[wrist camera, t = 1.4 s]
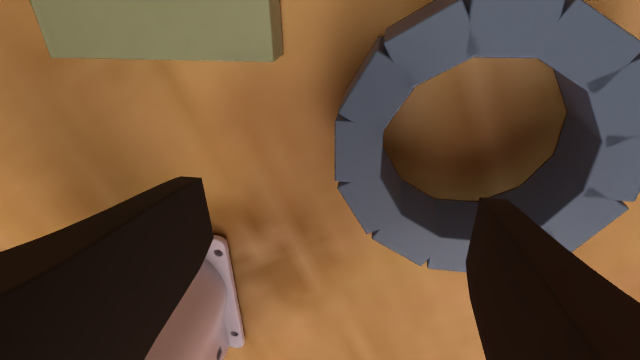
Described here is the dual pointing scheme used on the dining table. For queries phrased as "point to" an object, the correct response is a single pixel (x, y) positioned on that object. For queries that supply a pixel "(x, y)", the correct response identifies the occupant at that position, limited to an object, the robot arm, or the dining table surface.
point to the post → (162, 29)
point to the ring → (549, 180)
